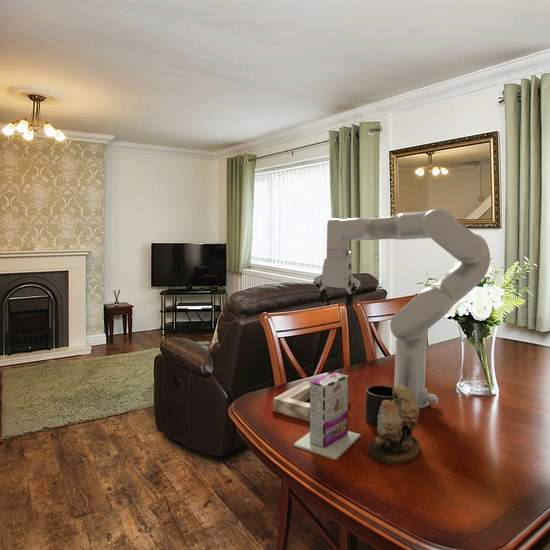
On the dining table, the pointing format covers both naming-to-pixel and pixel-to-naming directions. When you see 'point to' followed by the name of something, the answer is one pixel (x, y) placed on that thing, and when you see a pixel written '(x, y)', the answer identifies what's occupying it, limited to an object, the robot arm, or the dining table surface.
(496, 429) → the dining table surface
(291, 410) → the board
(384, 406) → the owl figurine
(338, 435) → the candy bar box
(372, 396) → the mug
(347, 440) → the mat
